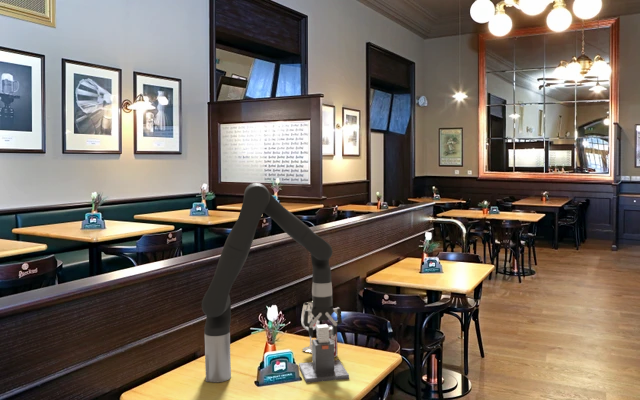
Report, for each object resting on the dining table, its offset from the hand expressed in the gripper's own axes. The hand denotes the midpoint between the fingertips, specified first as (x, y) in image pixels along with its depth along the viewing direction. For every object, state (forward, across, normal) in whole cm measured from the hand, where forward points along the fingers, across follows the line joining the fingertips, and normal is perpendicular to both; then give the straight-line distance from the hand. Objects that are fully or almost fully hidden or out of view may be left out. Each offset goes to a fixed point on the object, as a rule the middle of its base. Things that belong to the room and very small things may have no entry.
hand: (322, 336), depth 216 cm
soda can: (+14, +6, +17) cm, 23 cm away
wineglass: (+14, 0, +26) cm, 30 cm away
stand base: (+14, 0, 0) cm, 14 cm away
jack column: (+12, 0, 0) cm, 12 cm away
